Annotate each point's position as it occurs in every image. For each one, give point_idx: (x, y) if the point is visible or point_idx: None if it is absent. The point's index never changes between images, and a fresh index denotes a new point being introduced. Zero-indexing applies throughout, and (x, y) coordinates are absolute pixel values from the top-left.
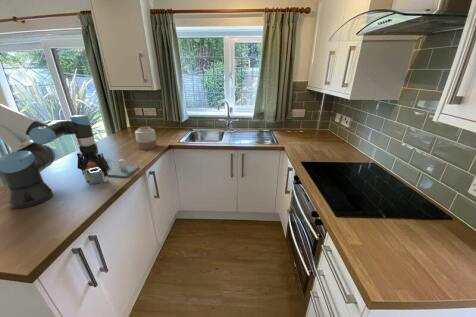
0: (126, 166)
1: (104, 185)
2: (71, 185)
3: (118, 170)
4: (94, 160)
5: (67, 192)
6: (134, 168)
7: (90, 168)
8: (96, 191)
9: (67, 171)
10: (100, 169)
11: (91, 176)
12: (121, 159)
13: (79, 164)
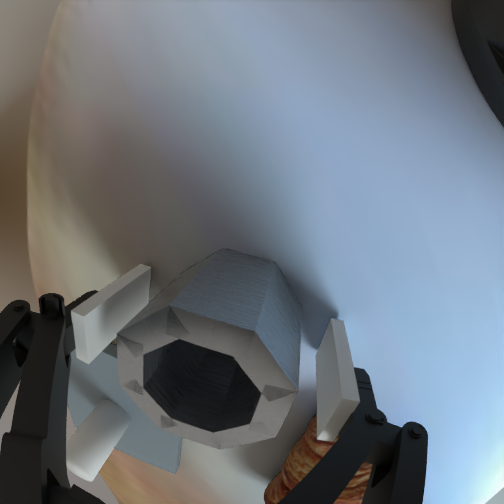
0: (139, 455)
1: (122, 208)
2: (435, 245)
3: (148, 425)
4: (1, 448)
5: (396, 98)
6: (77, 413)
7: None
8: (134, 101)
9: (488, 438)
10: (127, 383)
11: (210, 284)
12: (86, 479)
13: (396, 481)
